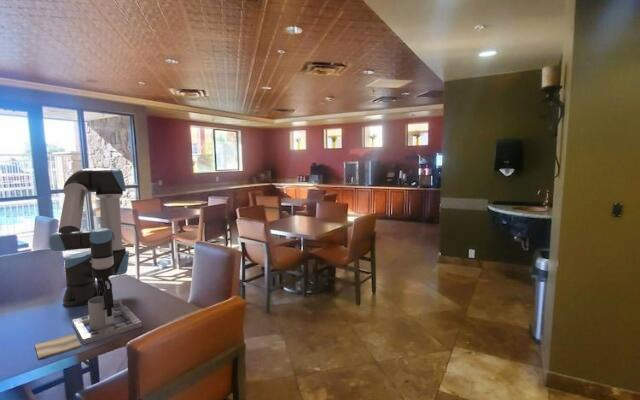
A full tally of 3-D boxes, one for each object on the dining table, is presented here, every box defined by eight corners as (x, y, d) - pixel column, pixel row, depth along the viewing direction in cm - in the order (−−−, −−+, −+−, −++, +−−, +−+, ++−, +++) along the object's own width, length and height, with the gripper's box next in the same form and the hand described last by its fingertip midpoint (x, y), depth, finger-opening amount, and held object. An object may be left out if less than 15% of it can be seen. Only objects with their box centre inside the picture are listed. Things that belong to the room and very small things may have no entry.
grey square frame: (72, 324, 141) (72, 319, 141) (125, 309, 155) (125, 305, 155) (83, 344, 125) (83, 339, 125) (141, 326, 139) (141, 321, 139)
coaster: (34, 346, 124) (34, 344, 124) (74, 334, 132) (74, 333, 132) (38, 359, 116) (38, 358, 115) (80, 346, 124) (80, 344, 124)
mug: (90, 332, 133) (88, 305, 132) (89, 323, 140) (87, 298, 139) (124, 323, 140) (123, 298, 139) (122, 316, 147) (120, 291, 146)
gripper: (86, 262, 142) (90, 313, 145) (98, 275, 127) (102, 331, 130) (106, 259, 148) (110, 308, 150) (120, 270, 133) (124, 325, 135)
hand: (106, 319), depth 140 cm, fingers closed on mug, 8 cm apart
